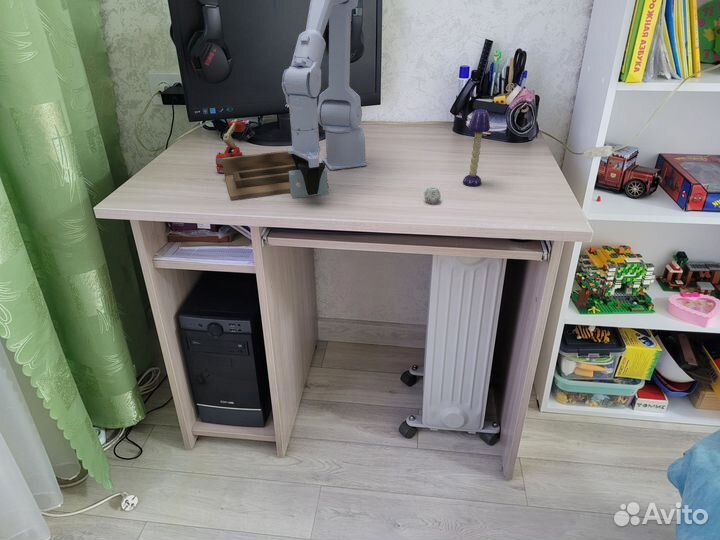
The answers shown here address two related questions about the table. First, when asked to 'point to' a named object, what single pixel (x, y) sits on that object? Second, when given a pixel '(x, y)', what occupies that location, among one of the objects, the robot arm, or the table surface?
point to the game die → (432, 195)
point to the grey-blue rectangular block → (299, 185)
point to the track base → (258, 174)
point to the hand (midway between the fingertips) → (308, 187)
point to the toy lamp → (476, 144)
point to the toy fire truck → (230, 144)
